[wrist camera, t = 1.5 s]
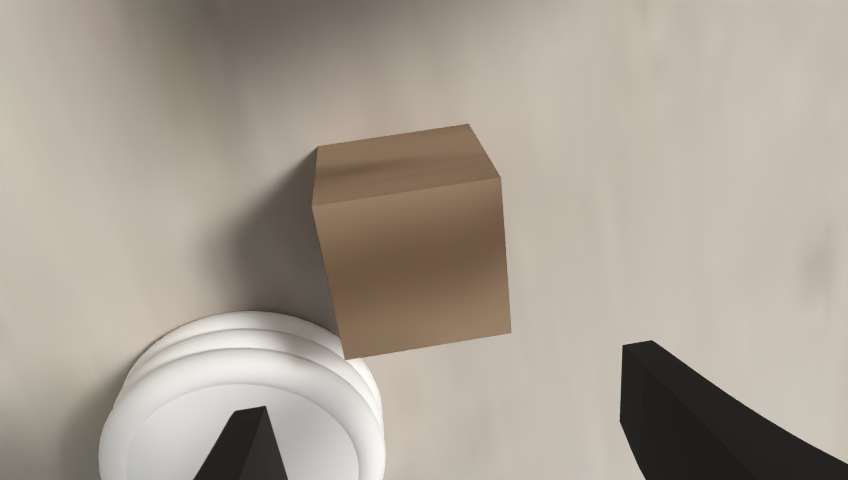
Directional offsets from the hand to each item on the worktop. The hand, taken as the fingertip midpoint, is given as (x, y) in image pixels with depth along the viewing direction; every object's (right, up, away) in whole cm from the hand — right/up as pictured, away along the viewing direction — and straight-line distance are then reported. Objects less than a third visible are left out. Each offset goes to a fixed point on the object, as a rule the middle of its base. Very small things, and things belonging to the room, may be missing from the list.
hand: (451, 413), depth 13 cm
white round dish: (-7, -3, +13) cm, 15 cm away
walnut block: (-1, +5, +9) cm, 11 cm away
